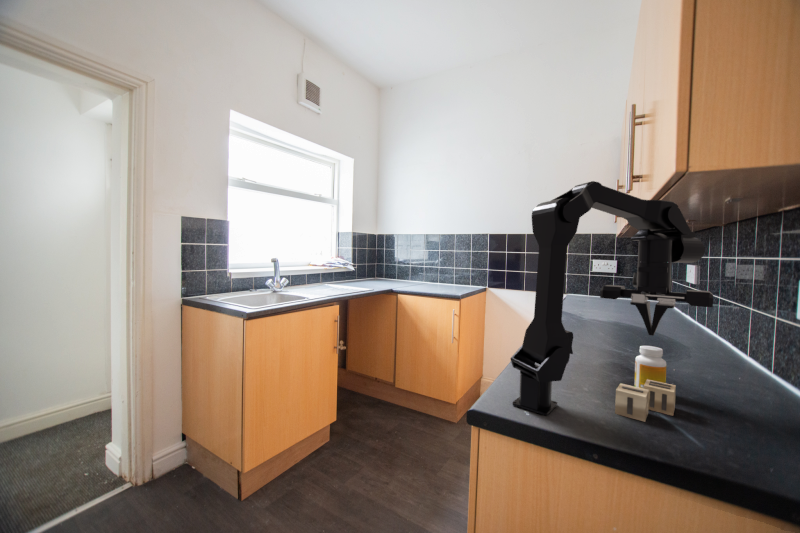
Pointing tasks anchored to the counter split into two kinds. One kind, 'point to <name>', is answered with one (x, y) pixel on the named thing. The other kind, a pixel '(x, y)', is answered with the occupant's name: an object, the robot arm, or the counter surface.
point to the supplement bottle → (649, 366)
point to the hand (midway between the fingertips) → (651, 335)
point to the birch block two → (661, 396)
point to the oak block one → (632, 402)
